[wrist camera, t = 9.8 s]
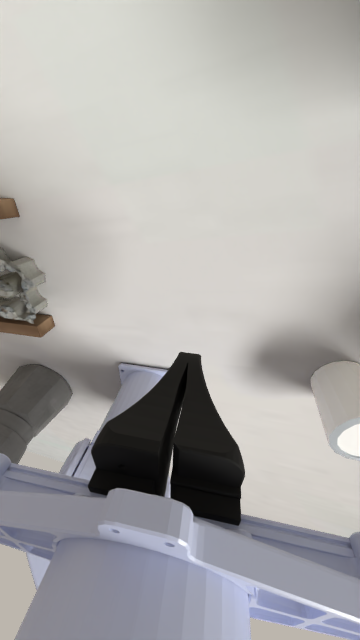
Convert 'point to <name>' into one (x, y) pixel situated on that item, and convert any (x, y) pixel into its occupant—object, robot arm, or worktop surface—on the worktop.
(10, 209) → the walnut bracket
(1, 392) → the coffeepot
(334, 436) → the shot glass
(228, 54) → the worktop surface
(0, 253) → the egg carton
